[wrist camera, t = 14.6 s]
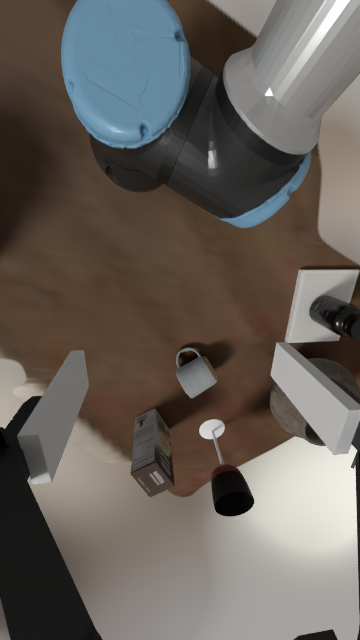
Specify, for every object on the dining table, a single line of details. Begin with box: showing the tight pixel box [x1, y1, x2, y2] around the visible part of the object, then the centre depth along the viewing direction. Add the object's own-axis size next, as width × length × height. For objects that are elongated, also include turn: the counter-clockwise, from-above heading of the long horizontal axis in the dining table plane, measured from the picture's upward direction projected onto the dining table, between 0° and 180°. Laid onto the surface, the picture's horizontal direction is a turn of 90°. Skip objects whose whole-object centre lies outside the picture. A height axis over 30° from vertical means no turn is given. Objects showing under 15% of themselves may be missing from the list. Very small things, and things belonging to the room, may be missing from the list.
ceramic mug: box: [176, 347, 218, 398], centre depth 56 cm, size 11×8×8 cm
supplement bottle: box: [309, 296, 360, 339], centre depth 51 cm, size 7×7×12 cm
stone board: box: [285, 269, 360, 343], centre depth 57 cm, size 18×14×1 cm
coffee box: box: [131, 408, 174, 497], centre depth 58 cm, size 9×6×16 cm
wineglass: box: [199, 419, 254, 516], centre depth 59 cm, size 8×9×20 cm
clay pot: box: [270, 358, 360, 446], centre depth 59 cm, size 22×21×15 cm
